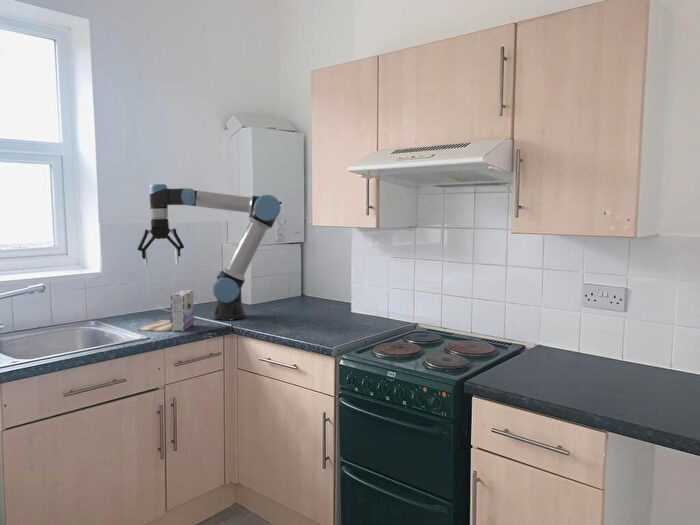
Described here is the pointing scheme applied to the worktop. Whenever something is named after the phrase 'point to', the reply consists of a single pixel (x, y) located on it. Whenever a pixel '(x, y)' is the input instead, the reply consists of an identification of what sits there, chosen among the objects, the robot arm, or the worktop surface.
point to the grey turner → (165, 321)
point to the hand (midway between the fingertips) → (161, 264)
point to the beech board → (157, 326)
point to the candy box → (182, 310)
